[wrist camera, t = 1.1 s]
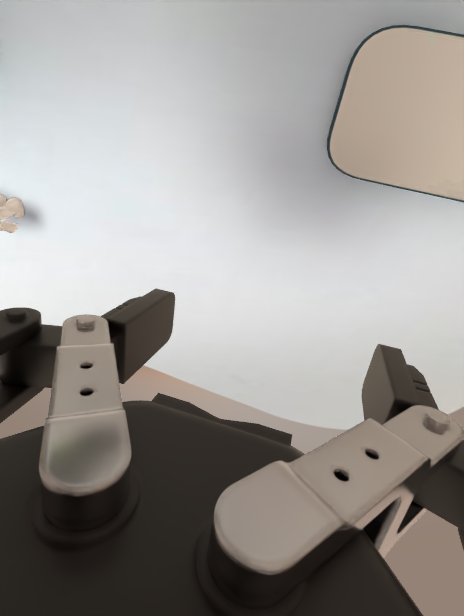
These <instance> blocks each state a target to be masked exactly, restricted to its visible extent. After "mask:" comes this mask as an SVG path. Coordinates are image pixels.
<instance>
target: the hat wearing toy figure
mask: <svg viewBox="0 0 464 616" xmlns="http://www.w3.org/2000/svg"><path fill="white" fill-rule="evenodd" d="M12 215H14V216H15V217H16V218H20V217H22V216H23V215H24V207H23V204H22V202H21V200H19V199H18V198H11V199H9V200H8V201H7V200H6V198H5V197H4V196H3V195H2V194H0V220H2V219H5V218H8V217H10V216H12ZM17 229H18V224H17V223H15V224H14V223H11V222H8V221H4V222H0V231H7V232H9V233H13V232H15V230H17Z"/></svg>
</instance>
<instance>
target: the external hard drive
mask: <svg viewBox="0 0 464 616" xmlns="http://www.w3.org/2000/svg"><path fill="white" fill-rule="evenodd" d="M327 150H328V155H329V158H330V160H331V162H332V164H333V165H334V166H335V167H336V168H337V169H338V170H339V171H341V172H342V173H344V174H346V175H348V176H351V177H353V178H357V179H360V180H365V181H369V182H374V183H378V184H383V185H387V186H392V187H397V188H401V189H406V190H410V191H415V192H419V193H424V194H429V195H433V196H438V197H442V198H447V199H452V200H456V201H461V202H464V35H462V34H456V33H451V32H445V31H440V30H434V29H429V28H423V27H417V26H408V25H398V26H390V27H386V28H382V29H380V30H378V31H376V32H374V33H372V34H371V35H369V36H368V37H367V38H366V39H364V40H363V41H362V43H361V44H360V45H359V46H358V48H357V49H356V51H355V53H354V54H353V56H352V58H351V61H350V63H349V66H348V69H347V72H346V75H345V79H344V82H343V86H342V89H341V92H340V96H339V99H338V103H337V106H336V110H335V113H334V117H333V120H332V123H331V127H330V131H329V135H328V140H327Z"/></svg>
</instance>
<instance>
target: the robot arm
mask: <svg viewBox="0 0 464 616" xmlns="http://www.w3.org/2000/svg"><path fill="white" fill-rule="evenodd" d="M174 306H175V295H174V293H172V292H168V291H164V290H160V289H154V290H153V291H151V292H149V293H148V294H146V295H144V296H143V297H138V298H133V299H130V300H128V301H126V302H125V303H123V304H122V305H119V306H118V307H116V309H115V308H114V309H113V310H111V311H109V312H107V313H106V314H104V315H102V316H96V315H78V316H73V317H70V318H68V319H66V320H65V321H64V322H63V326H53V325H42V324H41V314H40V312H39V311H37V310H35V309H31V308H10V309H5V310H1V311H0V423H1V422H3V420H5V419H6V418H7V417H9V416H10V415H11V414H12V413H14V412H15V411H16V410H18V409H19V408H20V407H21V406H23V405H24V404H25V403H27V402H28V401H29V400H30V399H32V398H33V397H34V396H35V395H37V394H38V393H39V392H41V391H42V389H44V387H47V388H52V390H51V398H50V406H49V413H48V418H47V419H46V420H45V425H44V426H41V427H38V428H35V429H31V430H28V431H25V432H22V433H18V434H15V435H12V436H9V437H5V438H2V439H0V616H423V615H422V613H421V612H420V610H419V609H418V607H417V606H416V605H415V603H414V602H413V600H412V599H411V597H410V596H409V595H408V593H407V592H406V590H405V589H404V587H403V586H402V585H401V583H400V582H399V580H398V579H397V577H396V576H395V574H394V573H393V572H392V570H391V569H390V567H389V566H388V564H387V563H386V562H385V560H384V557H385V556H386V554H387V553H388V551H389V550H390V549H391V548H392V546H393V545H394V544H395V543H396V542H397V541H398V540H399V539H400V538H401V537H402V536H403V535H404V534H405V532H406V531H408V530H409V529H410V527H411V526H412V525H413V524H414V523H415V522H416V521H417V520H418V519H419V518H420V517H421V516H422V515H423V514H424V513H425V511H426V510H429V511H431V512H433V513H434V514H436V515H438V516H440V517H441V518H443V519H445V520H446V521H448V522H450V523H452V524H453V525H455V526H457V527H458V531H459V535H460V539H461V542H462V546H463V549H464V440H463V439H464V430H463V428H462V427H461V425H460V424H459V423H458V422H457V421H456V420H454V419H453V418H452V417H450V416H449V415H447V414H446V413H444V412H442V411H440V410H439V409H438V407H437V405H436V403H435V400H434V398H433V396H432V394H431V393H430V389H429V387H428V386H427V383H426V381H425V378H424V376H423V375H422V374H421V373H420V372H419V371H418V370H417V369H416V368H415V367H414V366H411V365H407V364H406V361H405V359H404V356H403V354H402V351H401V349H398V348H393V347H389V346H385V345H381V344H378V345H377V347H376V349H375V352H374V354H373V357H372V360H371V363H370V366H369V369H368V372H367V374H366V377H365V380H364V384H363V388H362V403H363V411H364V420H365V421H363V422H361V423H360V424H358V425H356V426H354V427H352V428H351V429H349V430H347V431H345V432H344V433H342V434H340V435H338V436H337V437H335V438H333V439H331V440H330V441H328V442H326V443H324V444H323V445H321V446H319V447H317V448H315V449H314V450H312V451H310V452H308V453H307V454H304V453H302V452H301V451H299V450H298V449H296V448H294V447H292V446H291V438H292V435H291V434H288V433H285V432H282V431H279V430H275V429H272V428H269V427H266V426H263V425H259V424H254V423H247V422H239V421H231V420H224V419H219V418H217V417H215V416H213V415H211V414H209V413H208V412H206V411H204V410H202V409H200V408H198V407H196V406H195V405H193V404H191V403H189V402H186V401H183V400H179V399H176V398H173V397H170V396H166V395H163V394H160V393H158V394H157V395H156V396H155V398H154V399H153V400H152V401H128V402H122V399H121V393H120V386H119V383H122V384H124V383H125V382H126V381H127V380H128V379H129V378H130V377H131V376H132V375H133V374H134V373H135V372H136V371H137V370H139V369H140V368H141V367H142V366H143V365H144V364H145V363H146V362H147V361H148V360H149V359H150V358H151V357H152V356H153V355H154V354H155V353H156V352H157V351H158V350H159V349H160V348H161V347H163V346H164V345H165V344H166V343H167V342H168V340H169V338H170V336H171V333H172V328H173V317H174Z"/></svg>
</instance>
